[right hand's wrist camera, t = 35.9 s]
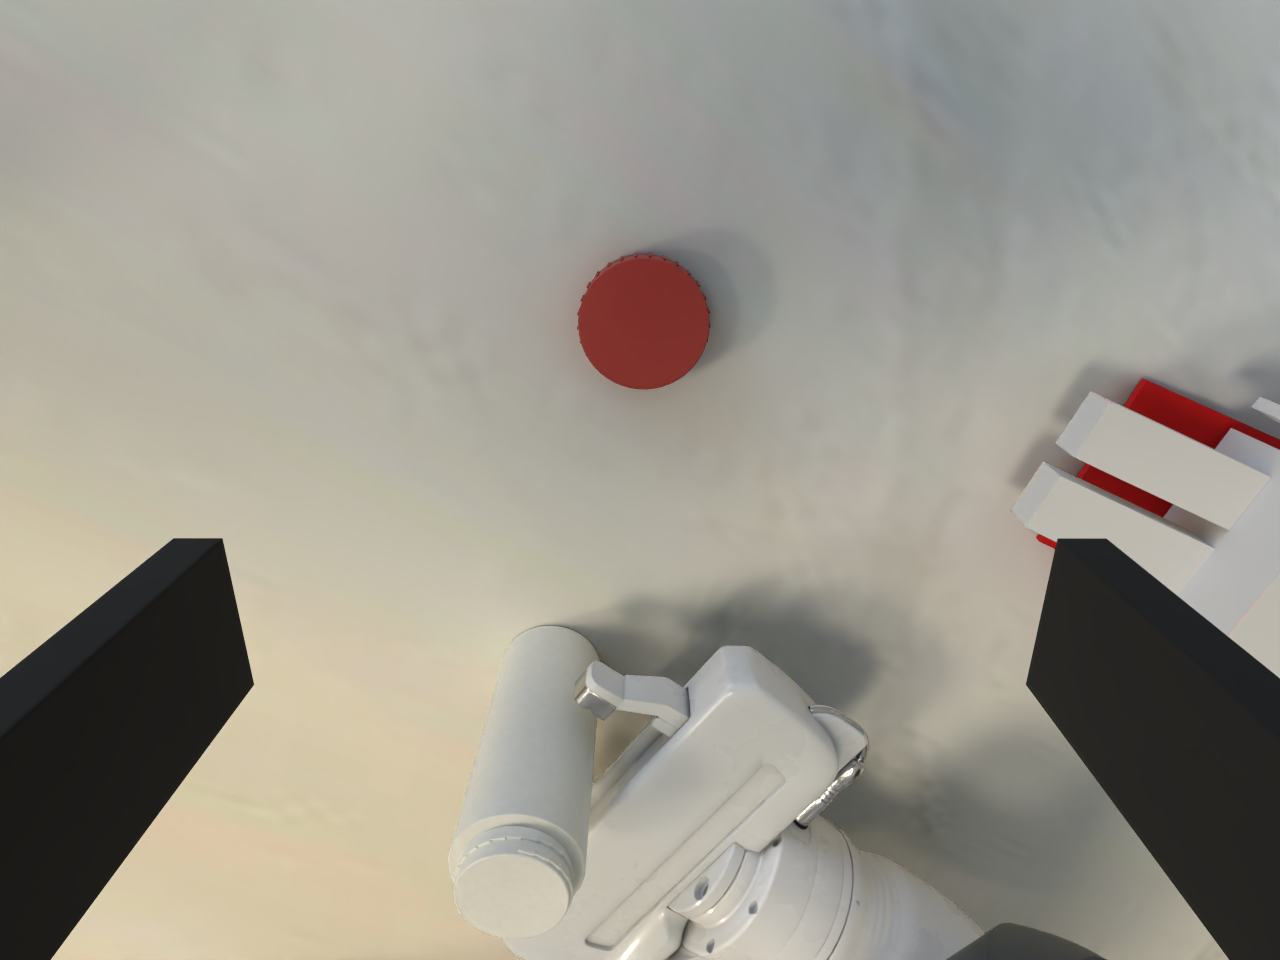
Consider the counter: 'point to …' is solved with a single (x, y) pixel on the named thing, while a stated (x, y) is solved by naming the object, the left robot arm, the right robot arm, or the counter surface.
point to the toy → (1175, 504)
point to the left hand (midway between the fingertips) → (524, 744)
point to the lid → (643, 321)
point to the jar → (528, 791)
